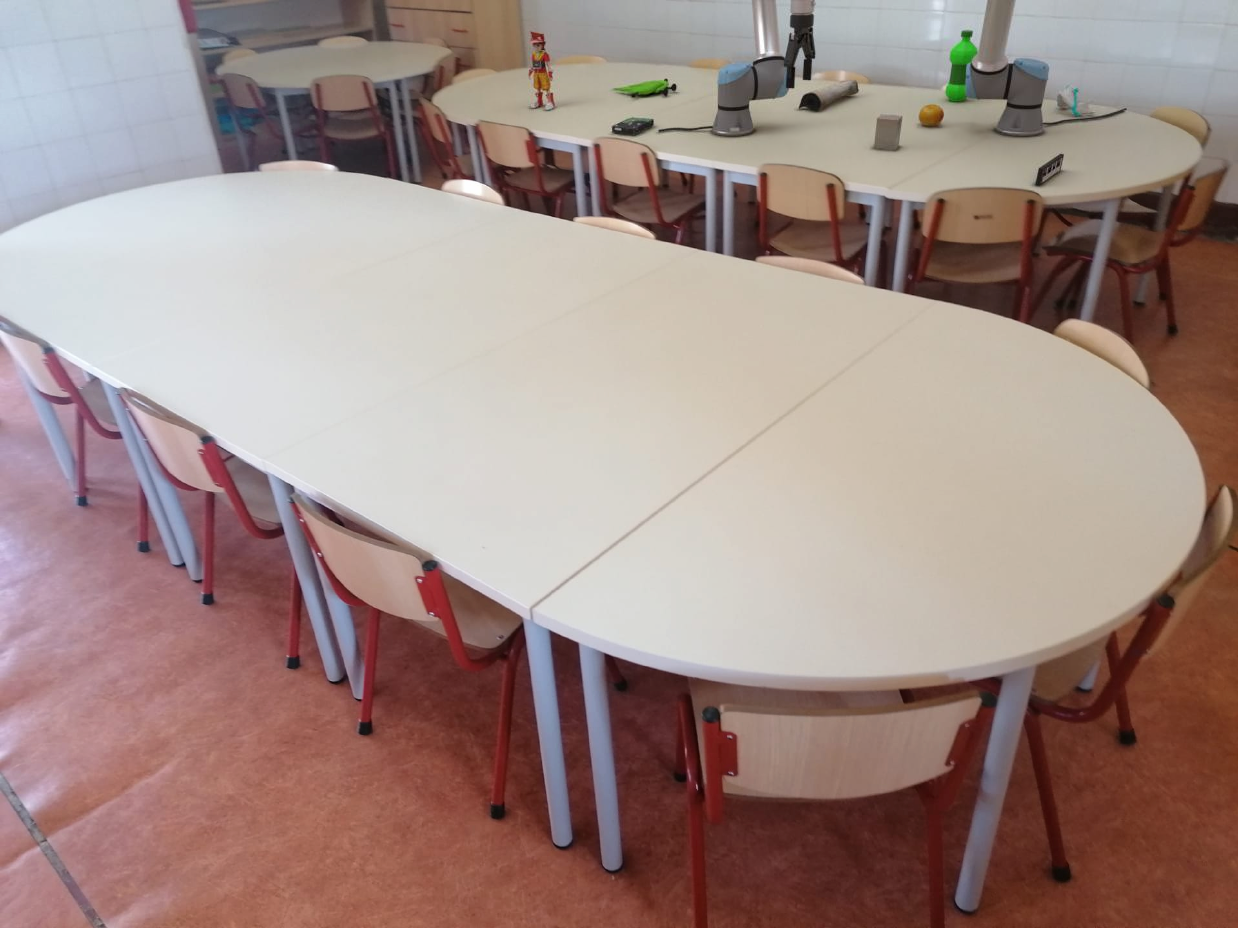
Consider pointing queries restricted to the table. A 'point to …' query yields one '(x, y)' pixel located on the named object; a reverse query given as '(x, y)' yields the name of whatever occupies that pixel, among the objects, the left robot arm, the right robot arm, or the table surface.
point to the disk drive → (632, 126)
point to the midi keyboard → (1049, 169)
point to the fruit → (931, 115)
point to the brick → (888, 132)
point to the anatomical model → (1073, 101)
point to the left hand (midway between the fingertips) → (798, 84)
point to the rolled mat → (828, 94)
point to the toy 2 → (648, 88)
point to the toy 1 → (541, 71)
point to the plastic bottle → (960, 66)
